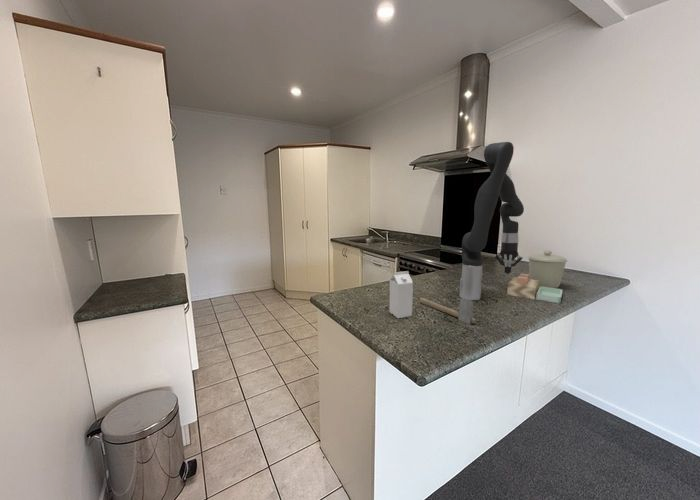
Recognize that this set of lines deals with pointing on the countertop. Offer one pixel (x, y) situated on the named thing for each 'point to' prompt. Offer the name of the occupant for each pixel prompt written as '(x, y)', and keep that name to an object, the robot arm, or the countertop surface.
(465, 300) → the long-handled mallet
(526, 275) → the terracotta tile
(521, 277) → the terracotta tile
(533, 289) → the zigzag patterned block
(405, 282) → the milk carton
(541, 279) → the canister
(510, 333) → the countertop surface
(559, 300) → the bin
